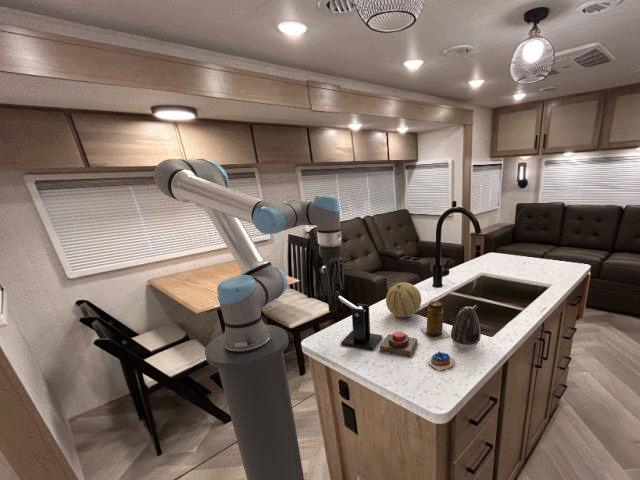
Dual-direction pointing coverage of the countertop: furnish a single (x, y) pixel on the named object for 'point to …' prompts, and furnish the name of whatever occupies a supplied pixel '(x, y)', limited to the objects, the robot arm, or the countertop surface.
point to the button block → (398, 345)
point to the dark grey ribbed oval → (466, 329)
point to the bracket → (361, 330)
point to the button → (398, 336)
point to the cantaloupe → (403, 299)
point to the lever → (346, 301)
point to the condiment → (435, 321)
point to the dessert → (441, 361)
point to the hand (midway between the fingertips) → (335, 308)
